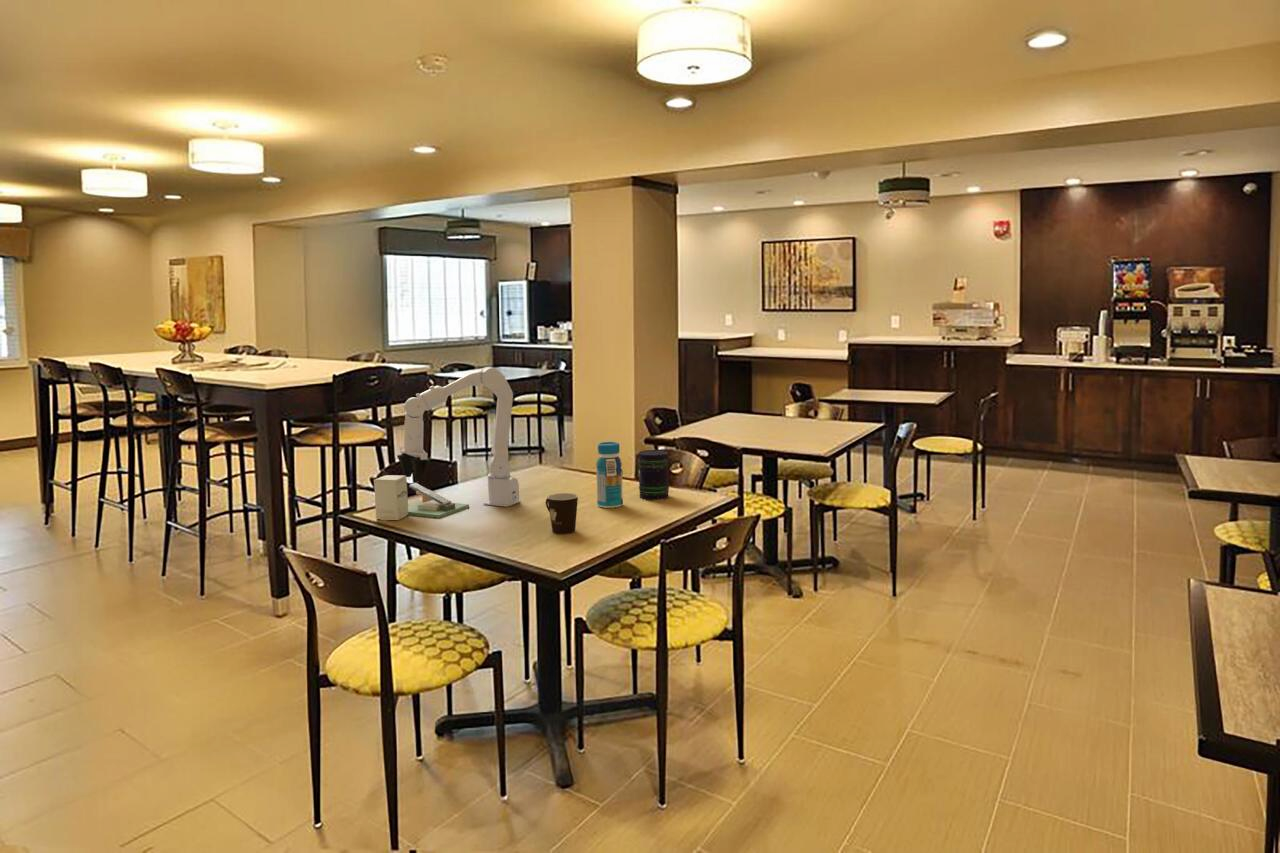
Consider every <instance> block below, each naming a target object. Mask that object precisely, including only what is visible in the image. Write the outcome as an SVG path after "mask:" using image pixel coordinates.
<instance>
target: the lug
mask: <svg viewBox="0 0 1280 853" xmlns="http://www.w3.org/2000/svg"><path fill="white" fill-rule="evenodd" d="M429 490H430V491H432V492H433V490H431V489H429ZM415 495H418V496H419V495H420V496H422V497H421V498H422V500H421V501H423V502H427V501H430V500H433V499H431V498H429V497H427V496H425V495H423V494H421V493H419V492H418V491H415Z"/></svg>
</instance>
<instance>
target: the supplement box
mask: <svg viewBox="0 0 1280 853" xmlns="http://www.w3.org/2000/svg"><path fill="white" fill-rule="evenodd" d="M373 487H374V489H373V490H374V505H375V520H376V519H381V520H380V521H387V520H398V521H400V520H401V519H403V518H405V517H407V515H408V505H409V502H408V501H409V499H408V482H407V477H406V476H404V475H401V474H400V475H398V474H396V475H393V474H391V475H389V474H387V475H383V476H380V477H377V478H376V479H373ZM408 516H409V515H408Z"/></svg>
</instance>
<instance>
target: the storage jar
mask: <svg viewBox="0 0 1280 853" xmlns="http://www.w3.org/2000/svg"><path fill="white" fill-rule="evenodd" d="M638 470H639V481H638V483H639V484H638V490H639V499H641V498H642V499H641V500H644V499H646V500H645V501H663V500H666V498H667V499H669V497H670V496H669V491H670V485H669V484H670V483H669V478H668V476H669V475H668V474H669V471H668V470H669V451H668V450H663V449H662V450H661V449H646V450H645V449H644V450H642V451H638ZM662 499H663V500H662Z"/></svg>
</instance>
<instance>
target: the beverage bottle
mask: <svg viewBox="0 0 1280 853" xmlns="http://www.w3.org/2000/svg"><path fill="white" fill-rule="evenodd" d="M597 453H598V455H599V457H598V459H597V460H596V464H595V466H596V471H595V476H596V492H597V493H596V495H597V498H596V499H597V500H596V504H597V506H598V507H600V508H602V507H603V509H615V507H616V508H620V507H621V506H623V504H624V499H623V498H624V496H623V473H624V472H623V471H624V470H623V469H622V466H623V462H622V459H621V458H620V457H619V454H620V443H619V442H617V441H604V442H599V443H598V444H597Z"/></svg>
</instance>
